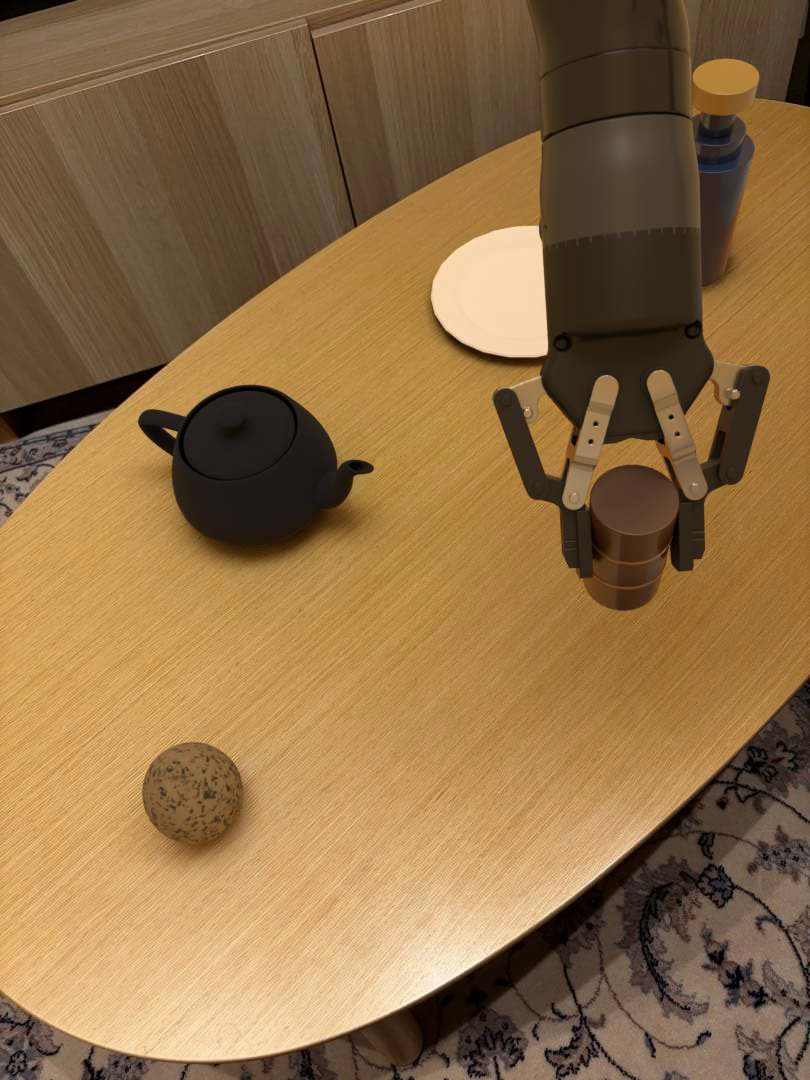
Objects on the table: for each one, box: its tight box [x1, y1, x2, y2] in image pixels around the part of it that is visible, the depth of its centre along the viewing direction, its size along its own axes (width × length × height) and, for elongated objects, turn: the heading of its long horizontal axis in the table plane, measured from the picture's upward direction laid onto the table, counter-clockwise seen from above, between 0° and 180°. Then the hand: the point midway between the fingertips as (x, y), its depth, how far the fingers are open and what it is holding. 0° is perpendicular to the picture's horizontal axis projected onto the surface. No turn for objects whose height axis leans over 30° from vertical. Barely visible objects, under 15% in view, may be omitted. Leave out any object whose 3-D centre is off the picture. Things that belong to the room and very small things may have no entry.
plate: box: [430, 225, 548, 359], centre depth 95 cm, size 21×21×2 cm
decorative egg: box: [141, 741, 244, 845], centre depth 64 cm, size 7×7×10 cm
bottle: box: [691, 58, 760, 287], centre depth 87 cm, size 8×8×21 cm
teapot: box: [137, 384, 375, 548], centre depth 80 cm, size 25×16×12 cm, turn 67°
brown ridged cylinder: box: [582, 464, 680, 612], centre depth 47 cm, size 4×4×8 cm
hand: (633, 569), depth 46 cm, fingers closed on brown ridged cylinder, 4 cm apart
